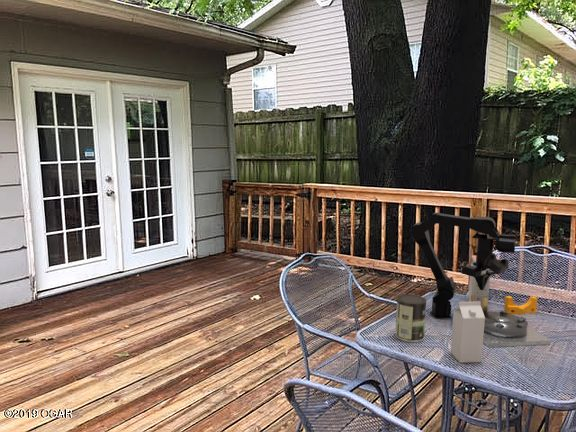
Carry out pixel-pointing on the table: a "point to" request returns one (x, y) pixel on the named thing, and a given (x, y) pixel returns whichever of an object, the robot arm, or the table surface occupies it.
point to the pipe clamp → (522, 309)
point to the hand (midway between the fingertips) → (481, 290)
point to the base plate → (515, 339)
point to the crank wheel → (503, 322)
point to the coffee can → (410, 318)
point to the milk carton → (468, 332)
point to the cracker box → (476, 287)
